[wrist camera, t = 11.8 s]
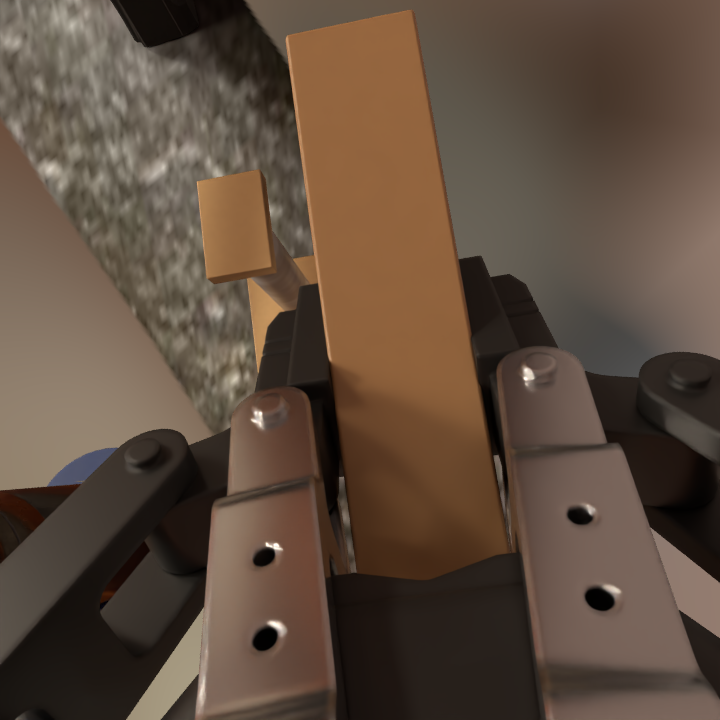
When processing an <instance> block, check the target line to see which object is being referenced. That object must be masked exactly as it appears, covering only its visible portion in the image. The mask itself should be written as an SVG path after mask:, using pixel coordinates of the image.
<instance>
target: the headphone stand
mask: <svg viewBox="0 0 720 720" xmlns="http://www.w3.org/2000/svg"><path fill="white" fill-rule="evenodd" d="M197 187H198V197H199V206H200V216H201V226H202V236H203V245H204V255H205V265H206V275H207V279H208V280H210V281H211V282H212V283H213V284H218V283H223V282H229V281H235V280H240V279H246V278H247V281H248V289H249V298H250V307H251V315H252V324H253V333H254V342H255V350H256V359H257V368H258V373H259V367H260V362H261V357H262V356H263V354H262V352H263V347H264V344H265V337H266V332H267V327H268V326H269V324H270V323H271V322H272V321H273V319H274V318H275V317H276V316H277V315H278V313H279V312H284V311H290V310H296V307H297V300H298V292H299V287H300V286H304V285H309V284H315V283H318V278H317V271H316V263H315V256H314V255H312V256H307V257H301V258H296V259H292V257H291V256H290V255H289V253H288V252H287V251H286V249H285V248H284V246H283V245H282V244H281V242H280V241H279V239H278V238H277V237H276V235H275V234H274V232H273V231H272V228H271V220H270V212H269V204H268V195H267V187H266V179H265V177H264V176H263V174H262V172H261V171H260V170H259V169H258V170H253V171H248V172H243V173H238V174H233V175H228V176H223V177H218V178H213V179H208V180H202V181H198V182H197Z"/></svg>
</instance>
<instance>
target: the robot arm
mask: <svg viewBox="0 0 720 720" xmlns="http://www.w3.org/2000/svg"><path fill="white" fill-rule="evenodd" d="M458 260H459V265H460V271H461V277H462V282H463V288H464V294H465V299H466V305H467V311H468V316H469V322H470V328H471V333H472V335H471V342H472V348H473V353H474V359H475V365H476V370H477V376H478V382H479V384H480V386H481V390H482V395H483V401H484V407H485V412H486V418H487V424H488V429H489V435H490V440H491V446H492V452H493V456H494V455H499V458H500V461H501V465H502V475H503V489H504V498H505V507H506V515H507V524H508V533H509V542H510V550H511V553H507V554H499V555H495V556H492V557H489V558H487V559H484V560H481V561H479V562H476V563H473V564H471V565H468V566H465V567H463V568H460V569H457V570H455V571H452V572H449V573H446V574H444V575H441V576H438V577H436V578H433V579H429V580H414V579H405V578H396V577H386V576H377V575H368V574H359V573H351V570H350V563H349V557H348V550H347V544H346V537H345V531H344V524H343V518H342V511H341V506H340V503H339V499H338V494H339V477H343V476H344V473H343V465H342V458H341V450H340V443H339V435H338V428H337V420H336V413H335V401H334V393H333V386H332V379H331V371H330V364H329V358H328V353H327V346H326V338H325V331H324V323H323V316H322V308H321V301H320V293H319V286H318V283H315V284H309V285H304V286H300V287H299V292H298V300H297V307H296V310H290V311H284V312H279V313H278V315H277V316H276V317H275V318H274V319H273V321H272V322H271V323H270V324H269V326H268V327H267V332H266V337H265V344H264V347H263V352H262V354H263V356H262V357H261V362H260V367H259V373H258V378H257V383H256V388H255V393H254V394H252V395H250V396H249V397H247V398H246V399H244V400H243V401H242V402H241V403H240V404H239V405H238V406H237V407H236V409H235V411H234V412H233V415H232V419H231V427H230V428H229V429H227V430H225V431H223V432H221V433H219V434H217V435H214V436H212V437H209V438H207V439H204V440H201V441H199V442H196V443H194V444H191V445H188V443H187V441H186V439H185V437H184V436H183V435H182V434H181V433H179V432H178V431H175V430H171V429H158V430H152V431H148V432H145V433H142V434H140V435H138V436H136V437H134V438H132V439H130V440H128V441H127V442H125V443H124V444H123V445H121V446H120V447H119V448H118V449H117V450H116V451H115V452H114V453H113V454H112V455H111V456H110V457H109V458H108V459H107V460H106V461H105V462H104V463H103V464H101V465H100V466H99V467H98V468H97V469H96V470H95V471H94V472H93V473H92V474H91V475H90V476H89V477H88V478H87V479H86V480H85V481H76V482H83V483H82V484H73V485H61V486H49V487H37V488H25V489H15V490H14V489H13V490H1V491H0V720H126V719H127V717H128V716H129V715H130V713H131V712H132V710H133V709H134V707H135V706H136V704H137V703H138V702H139V700H140V699H141V697H142V696H143V694H144V693H145V691H146V690H147V689H148V687H149V686H150V684H151V683H152V681H153V680H154V678H155V677H156V675H157V674H158V673H159V671H160V670H161V668H162V667H163V665H164V664H165V662H166V661H167V660H168V658H169V657H170V655H171V654H172V652H173V651H174V649H175V648H176V646H177V645H178V644H179V642H180V641H181V639H182V638H183V636H184V635H185V634H186V632H187V631H188V629H189V628H190V626H191V625H192V623H193V622H194V620H195V619H196V618H197V616H198V615H199V613H200V612H201V610H202V609H203V607H204V616H203V628H202V642H201V653H200V654H201V655H200V667H199V674H198V675H197V676H196V678H195V679H194V680H193V681H192V683H191V684H190V685H189V686H188V687H187V689H186V690H185V691H184V692H183V694H182V695H181V696H180V697H179V699H177V701H176V702H175V703H174V704H173V706H172V707H171V708H170V709H169V710H168V712H167V713H166V714H165V715H164V716H163V718H162V719H161V720H720V638H719V637H717V636H716V635H714V634H713V633H712V632H710V631H709V630H707V629H706V628H704V627H703V626H701V625H700V624H699V623H697V622H696V621H694V620H693V619H691V618H690V617H689V616H687V615H686V614H684V613H683V612H681V611H680V610H678V607H677V604H676V602H675V599H674V596H673V593H672V590H671V587H670V584H669V581H668V578H667V575H666V572H665V570H664V567H663V564H662V561H661V558H660V555H659V552H658V550H657V546H656V543H655V541H654V538H653V535H652V532H651V529H650V527H651V528H652V529H653V530H654V531H656V532H657V533H658V534H659V535H661V536H662V537H663V538H665V539H666V540H667V541H668V542H670V543H671V544H672V545H673V546H675V547H676V548H677V549H678V550H680V551H681V552H682V553H683V554H685V555H686V556H687V557H688V558H690V559H691V560H692V561H693V562H695V563H696V564H697V565H698V566H700V567H701V568H702V569H703V570H705V571H706V572H707V573H708V574H710V575H711V576H712V577H713V578H715V579H716V580H717V581H718V582H720V360H718V359H716V358H713V357H710V356H707V355H703V354H698V353H690V352H672V353H666V354H662V355H658V356H656V357H653V358H651V359H650V360H648V361H647V362H645V363H644V364H643V366H642V367H641V369H640V372H639V378H636V377H618V376H605V375H599V374H594V373H590V372H587V371H584V368H583V366H582V364H581V362H580V361H579V360H578V358H576V357H575V356H574V355H572V354H571V353H569V352H567V351H564V350H562V349H559V348H558V346H557V344H556V342H555V340H554V338H553V336H552V334H551V333H550V330H549V329H548V327H547V325H546V323H545V321H544V319H543V317H542V315H541V313H540V312H539V309H538V307H537V305H536V303H535V301H533V298H532V296H531V294H530V292H529V290H528V288H527V286H526V284H524V283H523V282H521V281H520V280H518V279H517V278H515V277H513V276H512V275H510V274H507V275H501V276H495V277H490V275H489V273H488V270H487V268H486V266H485V263H484V261H483V259H482V257H481V256H475V257H469V258H463V259H458ZM107 600H109V601H108V603H107V604H106V605H105V606H104V608H103V609H102V610H101V611H100V604H101V603H103V602H105V601H107Z"/></svg>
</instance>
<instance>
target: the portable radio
mask: <svg viewBox="0 0 720 720" xmlns="http://www.w3.org/2000/svg"><path fill="white" fill-rule="evenodd" d="M111 2H112V3H113V5H114V6H115V8H116V10H117V11H118V13H119V14H120V16H121V17H122V19H123V21H124V22H125V24H126V26H127V28H128V29H129V31H130V33H131V35H132V36H133V38H134V40H135V41H137V42H142V44H143V45H144V47H150V46H154V45H157V44H160V43H163V42H166V41H170V40H173V39H176V38H179V37H182V36H184V35H186V34H188V33H190V32H191V31H192V30H194V29H195V28H196V27H198V26H199V22H198V17H197V13H196V8H195V4H194V0H111Z"/></svg>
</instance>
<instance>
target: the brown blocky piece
mask: <svg viewBox="0 0 720 720" xmlns="http://www.w3.org/2000/svg"><path fill="white" fill-rule="evenodd" d="M286 46H287V54H288V62H289V69H290V77H291V84H292V92H293V99H294V107H295V114H296V122H297V129H298V136H299V144H300V151H301V159H302V166H303V174H304V181H305V189H306V196H307V204H308V211H309V219H310V226H311V234H312V241H313V249H314V256H315V263H316V271H317V278H318V286H319V293H320V301H321V308H322V316H323V323H324V331H325V338H326V346H327V353H328V358H329V364H330V371H331V379H332V386H333V393H334V401H335V413H336V420H337V428H338V435H339V443H340V450H341V458H342V465H343V473H344V480H345V488H346V495H347V502H348V510H349V517H350V525H351V532H352V540H353V547H354V555H355V562H356V570H357V573H359V574H368V575H377V576H386V577H396V578H405V579H414V580H429V579H433V578H436V577H438V576H441V575H444V574H446V573H449V572H452V571H455V570H457V569H460V568H463V567H465V566H468V565H471V564H473V563H476V562H479V561H481V560H484V559H487V558H489V557H492V556H495V555H499V554H507V553H510V548H509V542H508V536H507V531H506V525H505V519H504V514H503V508H502V503H501V497H500V491H499V486H498V480H497V474H496V469H495V463H494V457H493V452H492V446H491V440H490V435H489V429H488V424H487V418H486V412H485V407H484V401H483V395H482V390H481V386H480V384H479V382H478V376H477V370H476V365H475V359H474V353H473V348H472V342H471V335H472V333H471V328H470V322H469V316H468V311H467V305H466V299H465V294H464V288H463V282H462V277H461V271H460V265H459V260H458V254H457V249H456V243H455V237H454V232H453V226H452V220H451V215H450V209H449V204H448V198H447V192H446V186H445V181H444V175H443V170H442V164H441V158H440V153H439V147H438V141H437V136H436V130H435V124H434V119H433V113H432V108H431V102H430V96H429V91H428V85H427V79H426V74H425V68H424V62H423V57H422V51H421V46H420V40H419V34H418V28H417V23H416V17H415V13H414V12H413V10H406V11H401V12H397V13H392V14H387V15H382V16H377V17H372V18H368V19H363V20H358V21H354V22H349V23H344V24H339V25H334V26H329V27H324V28H320V29H315V30H310V31H305V32H301V33H296V34H291V35H288V36H287V37H286Z"/></svg>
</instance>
